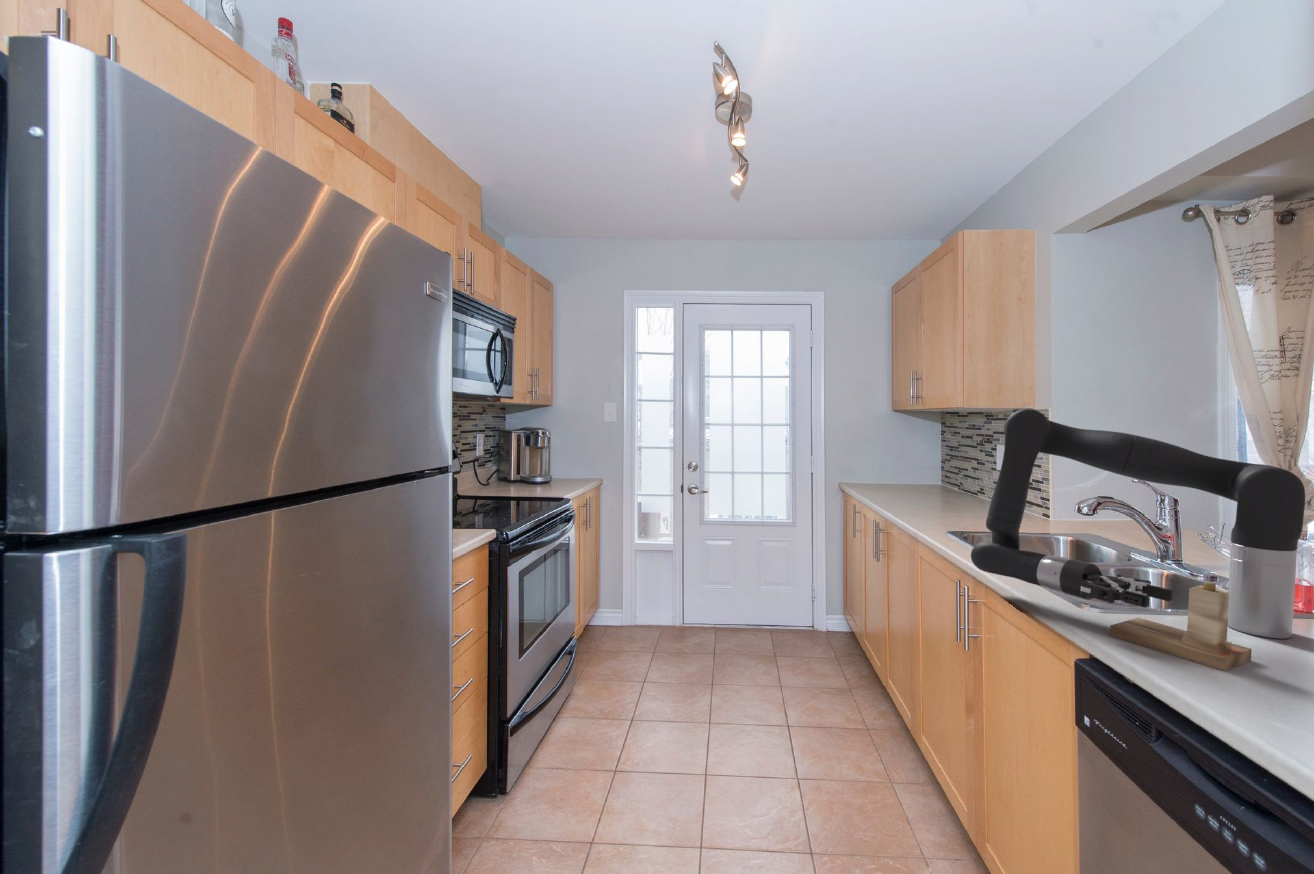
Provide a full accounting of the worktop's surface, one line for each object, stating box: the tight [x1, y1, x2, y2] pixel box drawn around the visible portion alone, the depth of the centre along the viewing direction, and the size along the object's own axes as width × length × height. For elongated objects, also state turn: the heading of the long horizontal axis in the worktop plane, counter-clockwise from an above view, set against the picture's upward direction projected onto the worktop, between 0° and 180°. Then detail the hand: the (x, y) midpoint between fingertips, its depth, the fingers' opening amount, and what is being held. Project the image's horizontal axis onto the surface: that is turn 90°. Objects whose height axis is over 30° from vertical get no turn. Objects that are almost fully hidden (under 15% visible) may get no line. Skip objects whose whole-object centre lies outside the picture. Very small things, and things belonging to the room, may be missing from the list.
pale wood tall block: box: [1182, 581, 1233, 654], centre depth 103 cm, size 5×6×11 cm
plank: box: [1109, 617, 1252, 671], centre depth 109 cm, size 10×17×2 cm, turn 26°
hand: (1160, 599), depth 110 cm, fingers open, 8 cm apart
